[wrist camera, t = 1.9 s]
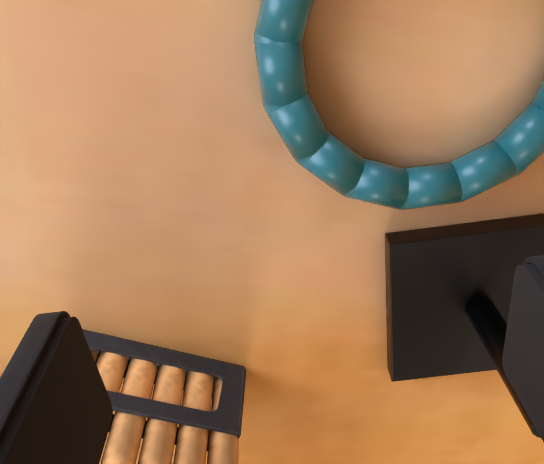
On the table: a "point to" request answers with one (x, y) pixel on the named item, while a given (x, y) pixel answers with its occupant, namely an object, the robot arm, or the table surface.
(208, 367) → the ammunition clip
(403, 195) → the ring
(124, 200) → the table surface
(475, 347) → the stand
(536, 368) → the robot arm
